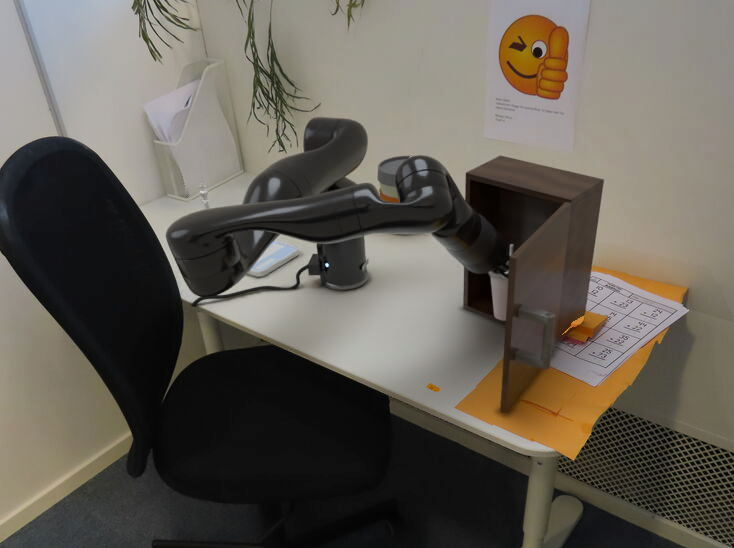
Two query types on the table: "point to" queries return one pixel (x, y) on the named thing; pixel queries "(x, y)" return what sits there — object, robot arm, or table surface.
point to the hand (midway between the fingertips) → (511, 278)
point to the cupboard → (535, 225)
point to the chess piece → (204, 196)
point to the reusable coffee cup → (389, 178)
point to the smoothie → (500, 293)
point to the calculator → (273, 258)
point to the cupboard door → (533, 304)
